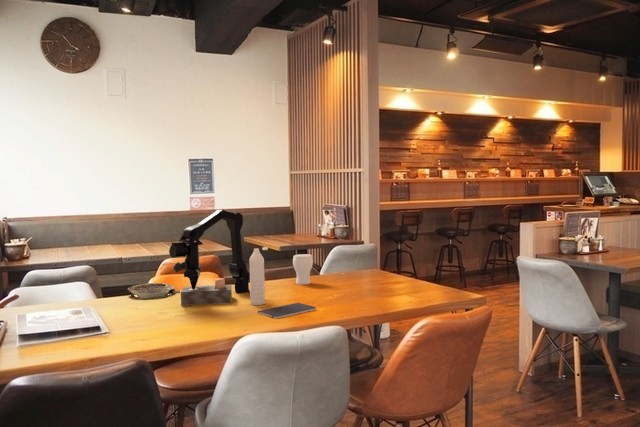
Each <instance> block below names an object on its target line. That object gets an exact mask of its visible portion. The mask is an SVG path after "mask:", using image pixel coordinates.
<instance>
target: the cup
mask: <svg viewBox="0 0 640 427" xmlns="http://www.w3.org/2000/svg"><path fill="white" fill-rule="evenodd" d="M313 265H314V259H313V256H312V254H309V253H308V254H305V253H302V254H295V255H293V258H292V266H293V269H294V271H295V272H296V280H295V284H296V285H300V286H301V285H302V286H303V285H311V278H310V275H311V271H312V269H313Z"/></svg>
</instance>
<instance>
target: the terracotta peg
mask: <svg viewBox="0 0 640 427" xmlns="http://www.w3.org/2000/svg"><path fill="white" fill-rule="evenodd" d="M225 283H226V281H225V278H224V277H223V278H221V277H220V278H215V279H214V285H215V289H225V285H226V284H225Z"/></svg>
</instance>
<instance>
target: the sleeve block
mask: <svg viewBox="0 0 640 427" xmlns="http://www.w3.org/2000/svg"><path fill="white" fill-rule="evenodd" d="M190 288H192V286H183V288H182V289H181V291H180V306H197V305H198V306H199V305H216V304H231V303H232V299H233V296H232V284H225V289H215V284H214V285H198V286H197V285H196V287H195V288H198V290H189V289H190Z"/></svg>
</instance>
